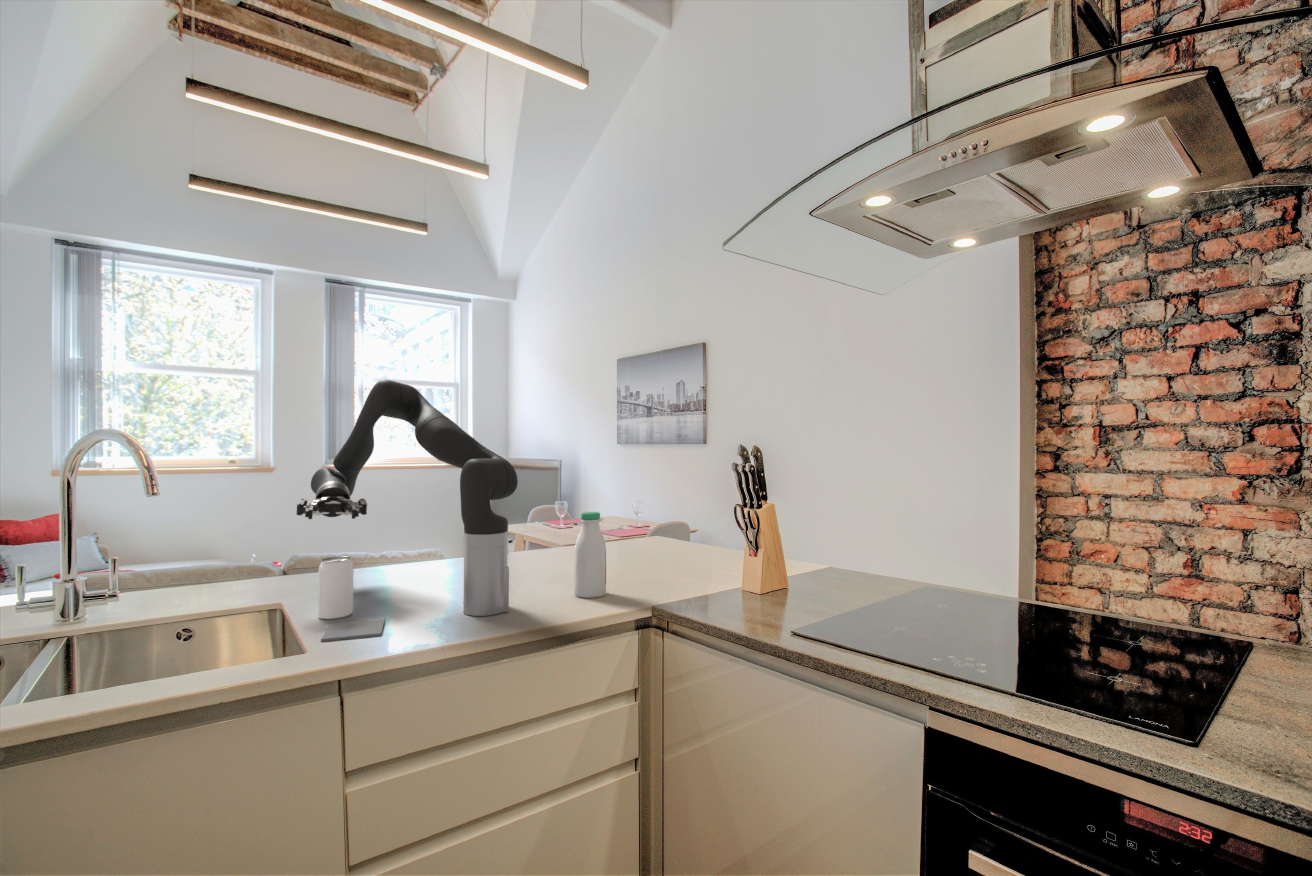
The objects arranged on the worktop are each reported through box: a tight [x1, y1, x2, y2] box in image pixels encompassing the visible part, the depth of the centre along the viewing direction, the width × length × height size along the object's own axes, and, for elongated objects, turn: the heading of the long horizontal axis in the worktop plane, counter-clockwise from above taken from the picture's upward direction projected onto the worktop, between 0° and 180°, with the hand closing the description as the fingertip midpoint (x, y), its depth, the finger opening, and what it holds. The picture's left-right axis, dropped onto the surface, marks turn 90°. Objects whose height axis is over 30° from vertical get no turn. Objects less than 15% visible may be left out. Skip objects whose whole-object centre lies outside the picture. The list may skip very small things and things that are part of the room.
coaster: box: [320, 618, 386, 643], centre depth 115 cm, size 10×10×1 cm
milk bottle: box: [573, 511, 607, 599], centre depth 144 cm, size 8×8×20 cm
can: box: [317, 556, 354, 620], centre depth 125 cm, size 6×6×12 cm
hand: (332, 514), depth 132 cm, fingers open, 8 cm apart
